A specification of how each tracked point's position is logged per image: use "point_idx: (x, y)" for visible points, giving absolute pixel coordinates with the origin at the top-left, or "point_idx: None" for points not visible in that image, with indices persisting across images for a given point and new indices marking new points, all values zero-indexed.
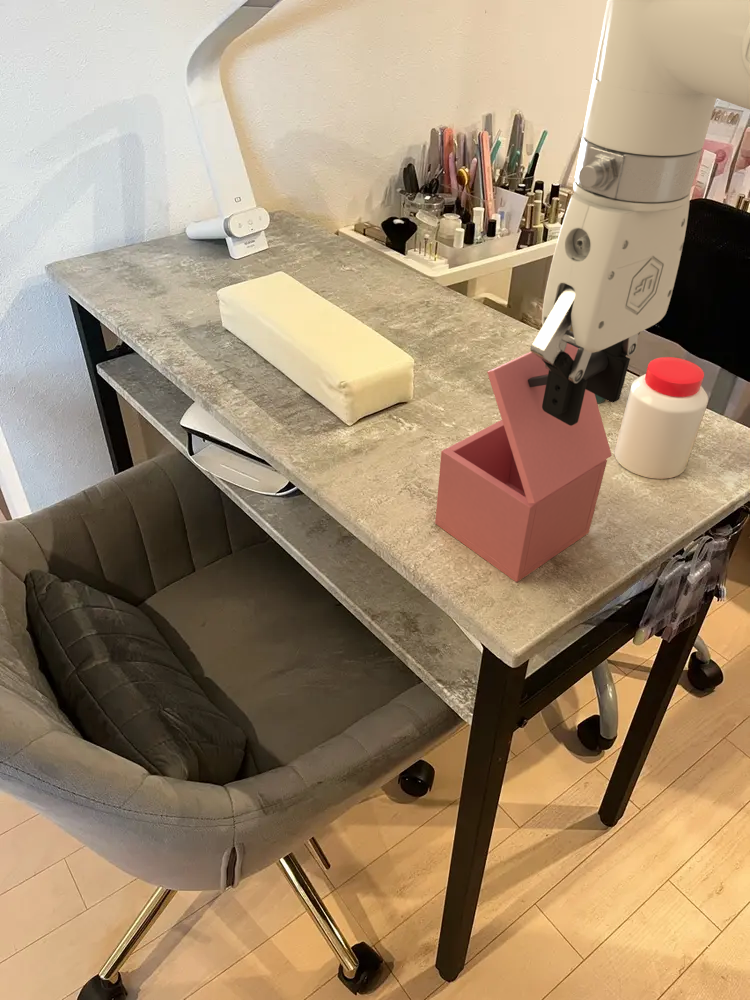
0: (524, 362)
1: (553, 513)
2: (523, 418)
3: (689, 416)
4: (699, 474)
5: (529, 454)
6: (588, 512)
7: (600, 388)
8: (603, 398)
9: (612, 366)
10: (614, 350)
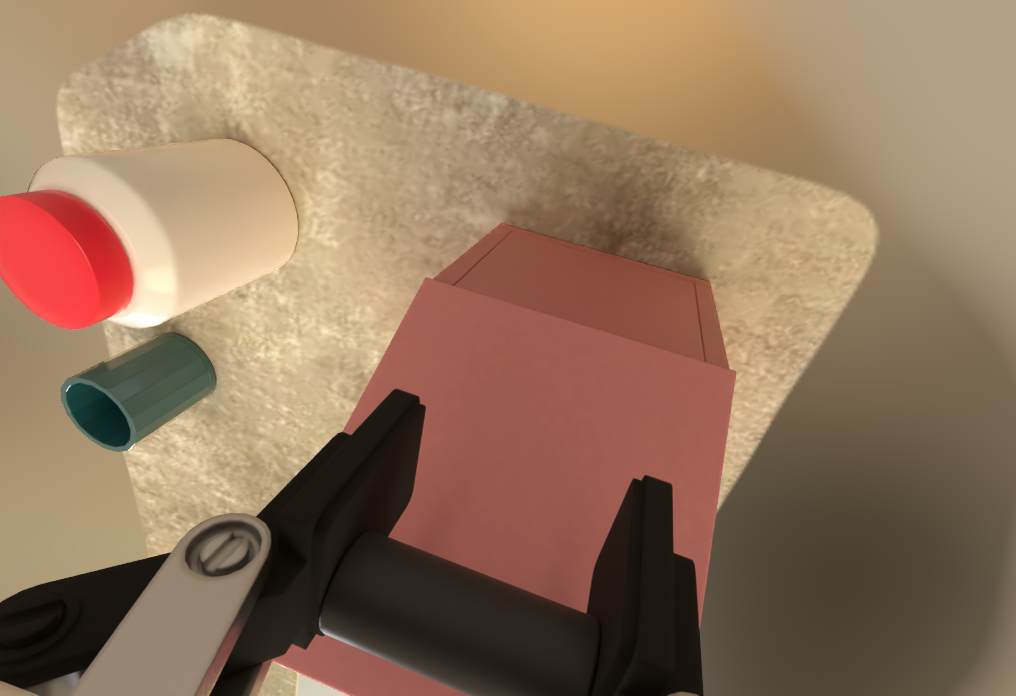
0: None
1: (626, 308)
2: None
3: (131, 175)
4: (208, 107)
5: (683, 478)
6: (503, 245)
7: (406, 469)
8: (175, 338)
9: (350, 531)
10: (293, 599)
